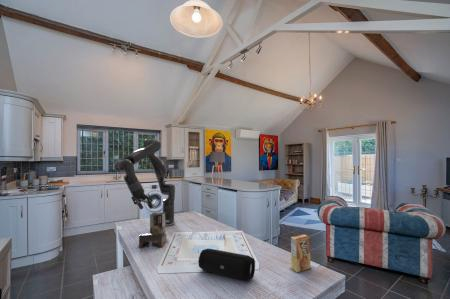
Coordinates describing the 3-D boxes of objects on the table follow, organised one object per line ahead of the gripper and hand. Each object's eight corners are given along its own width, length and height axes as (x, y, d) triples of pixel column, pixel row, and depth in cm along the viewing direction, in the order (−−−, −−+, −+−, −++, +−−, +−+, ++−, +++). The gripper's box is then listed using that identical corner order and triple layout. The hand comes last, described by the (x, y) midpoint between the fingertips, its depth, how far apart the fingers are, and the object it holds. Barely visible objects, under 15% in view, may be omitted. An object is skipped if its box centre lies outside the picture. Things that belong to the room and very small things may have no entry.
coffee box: (165, 235, 153) (165, 212, 153) (162, 238, 146) (162, 214, 147) (153, 234, 154) (153, 212, 154) (149, 238, 147) (149, 214, 148)
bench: (145, 241, 142) (145, 229, 142) (166, 241, 142) (166, 229, 142) (138, 247, 132) (139, 235, 132) (161, 247, 132) (161, 234, 132)
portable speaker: (197, 273, 101) (197, 252, 102) (207, 264, 110) (207, 244, 111) (249, 286, 91) (249, 262, 91) (255, 274, 100) (255, 252, 100)
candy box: (304, 264, 109) (303, 233, 109) (311, 268, 105) (310, 236, 106) (291, 268, 105) (290, 236, 105) (297, 272, 101) (296, 239, 102)
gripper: (147, 183, 137) (158, 204, 142) (131, 185, 143) (142, 205, 148) (139, 190, 130) (151, 211, 136) (123, 192, 136) (135, 212, 142)
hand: (146, 208), depth 142 cm, fingers open, 8 cm apart
